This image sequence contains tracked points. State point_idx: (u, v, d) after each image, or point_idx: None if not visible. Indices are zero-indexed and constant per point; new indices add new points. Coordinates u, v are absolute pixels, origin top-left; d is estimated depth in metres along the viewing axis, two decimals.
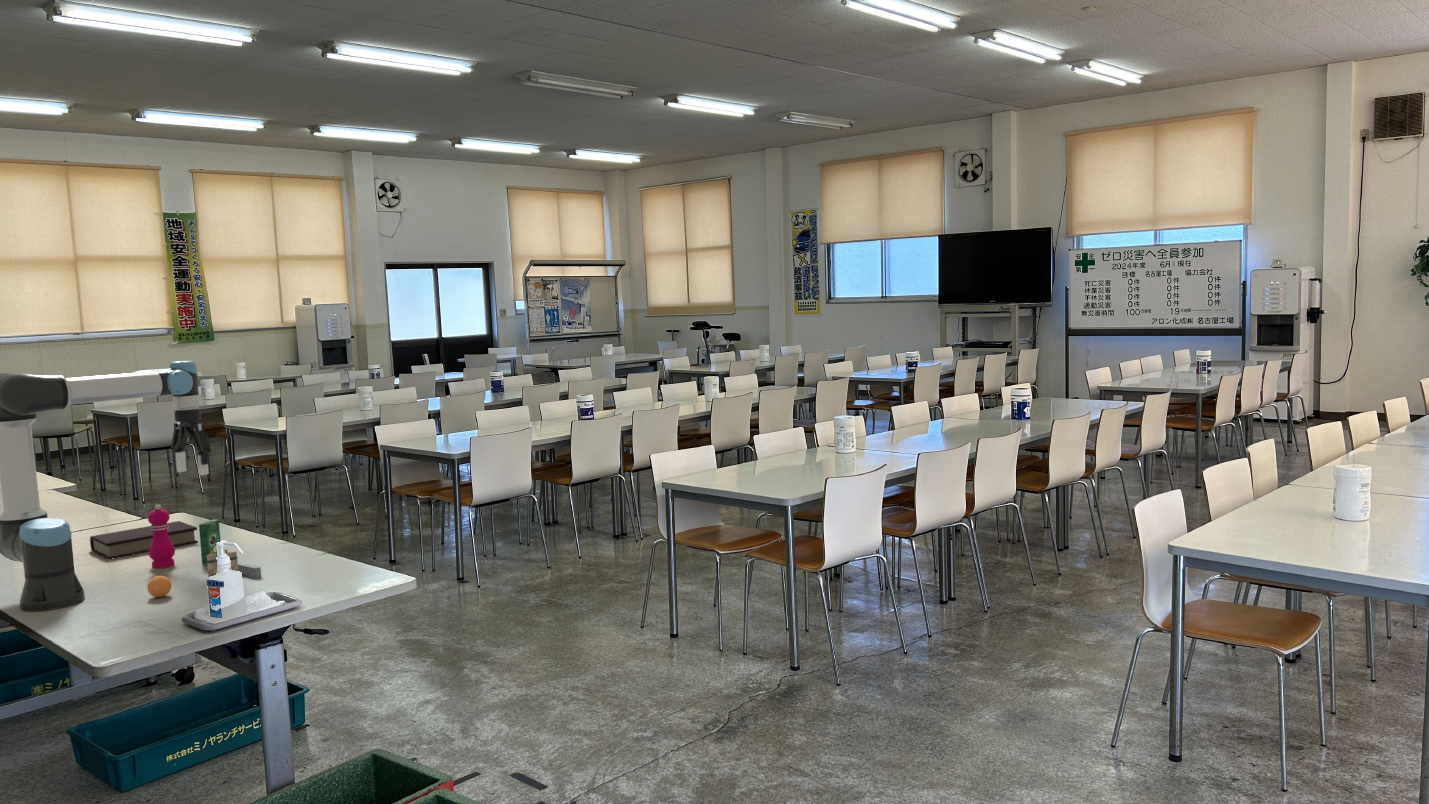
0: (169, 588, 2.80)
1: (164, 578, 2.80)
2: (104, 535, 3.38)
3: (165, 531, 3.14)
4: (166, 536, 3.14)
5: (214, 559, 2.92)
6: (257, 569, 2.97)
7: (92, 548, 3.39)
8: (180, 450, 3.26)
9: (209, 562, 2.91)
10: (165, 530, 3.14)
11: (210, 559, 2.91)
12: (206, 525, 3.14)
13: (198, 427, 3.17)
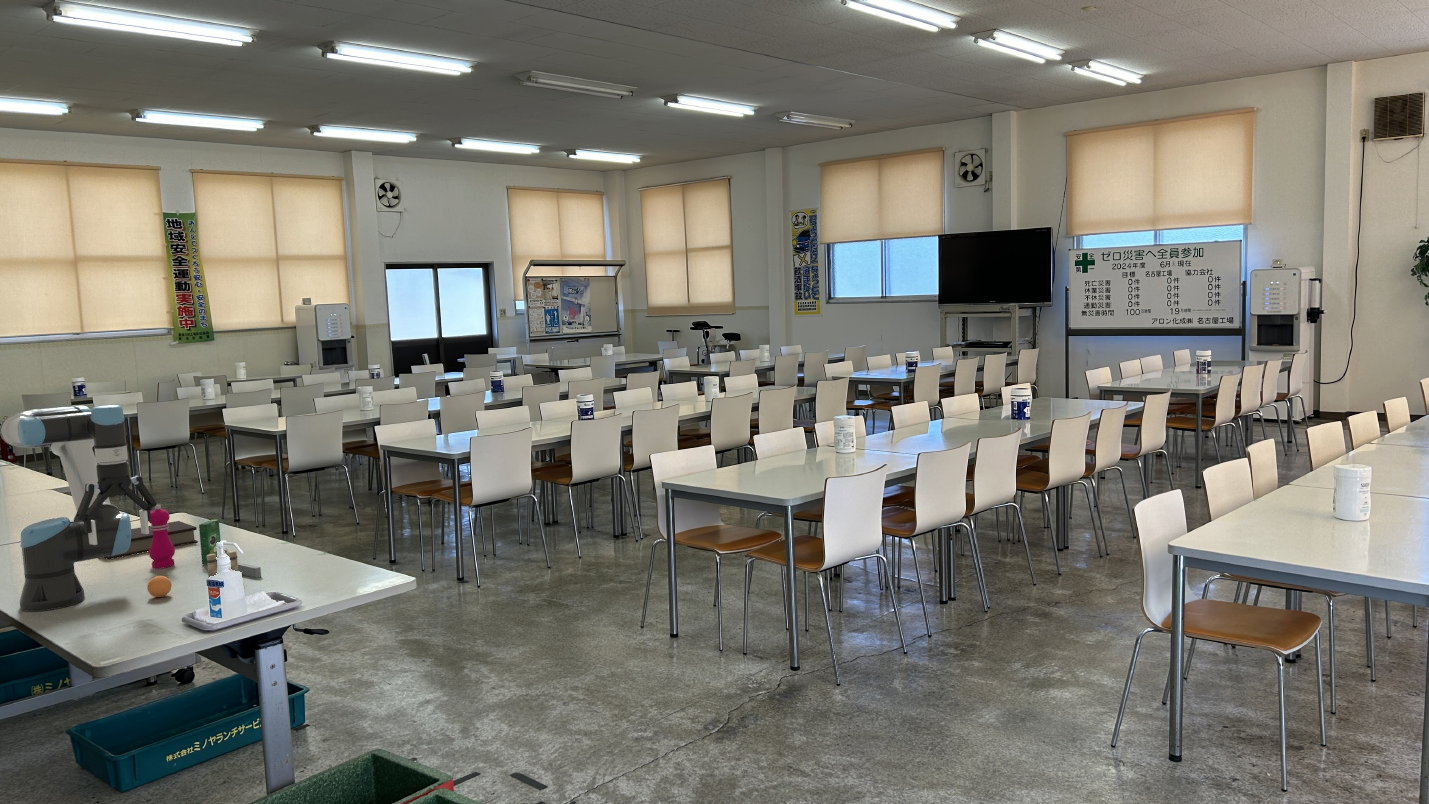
0: (169, 588, 2.80)
1: (164, 578, 2.80)
2: None
3: (165, 531, 3.14)
4: (166, 536, 3.14)
5: (214, 559, 2.92)
6: (257, 569, 2.97)
7: None
8: (144, 508, 2.76)
9: (209, 562, 2.91)
10: (165, 530, 3.14)
11: (210, 559, 2.91)
12: (206, 525, 3.14)
13: (86, 487, 2.64)
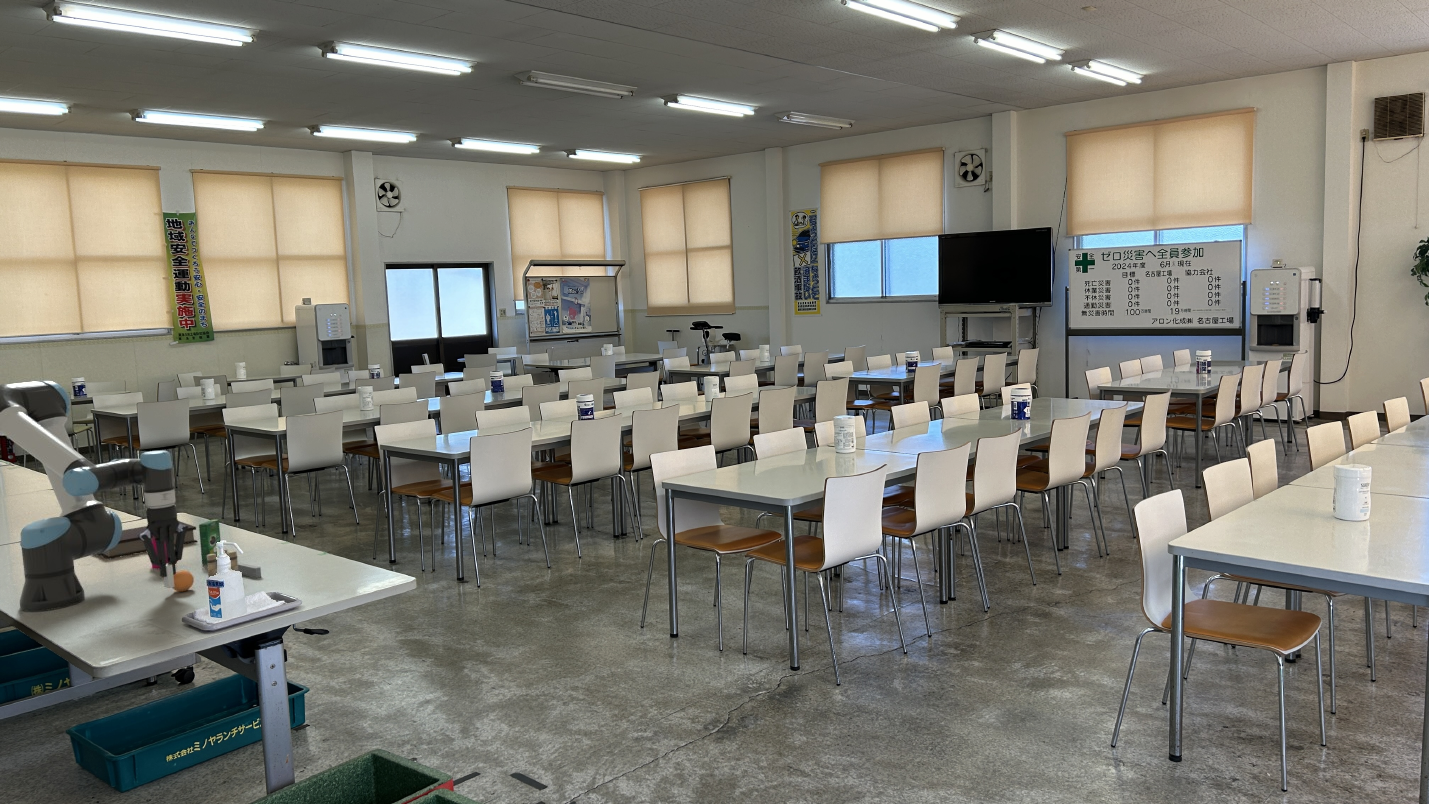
0: (183, 587, 2.83)
1: (192, 583, 2.86)
2: None
3: None
4: None
5: (214, 559, 2.92)
6: (257, 569, 2.97)
7: None
8: (170, 562, 2.82)
9: (209, 562, 2.91)
10: None
11: (210, 559, 2.91)
12: (206, 525, 3.14)
13: (141, 538, 2.76)
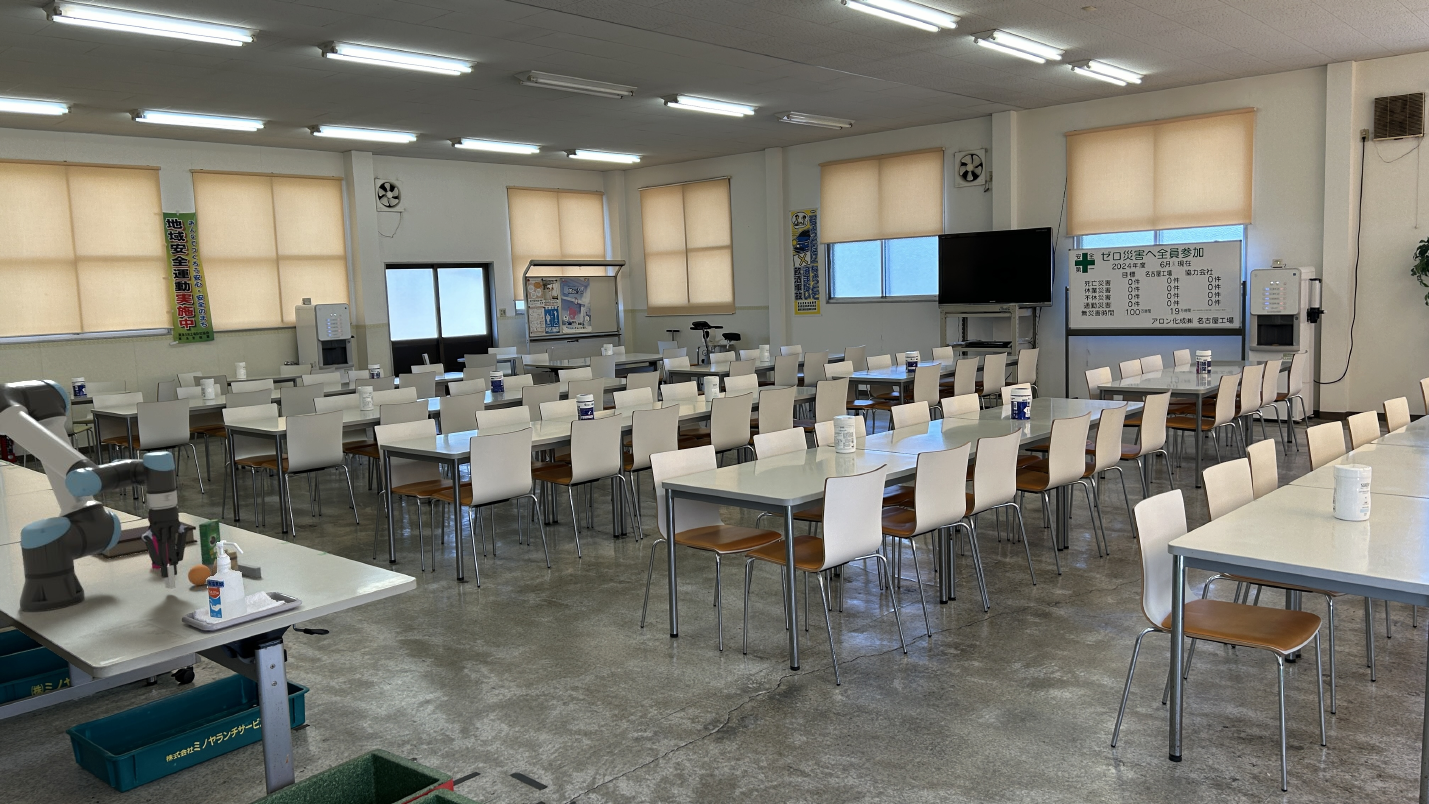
0: (201, 568, 2.90)
1: (200, 579, 2.89)
2: None
3: None
4: None
5: None
6: (257, 569, 2.97)
7: None
8: (171, 563, 2.83)
9: None
10: None
11: None
12: (206, 525, 3.14)
13: (143, 539, 2.77)
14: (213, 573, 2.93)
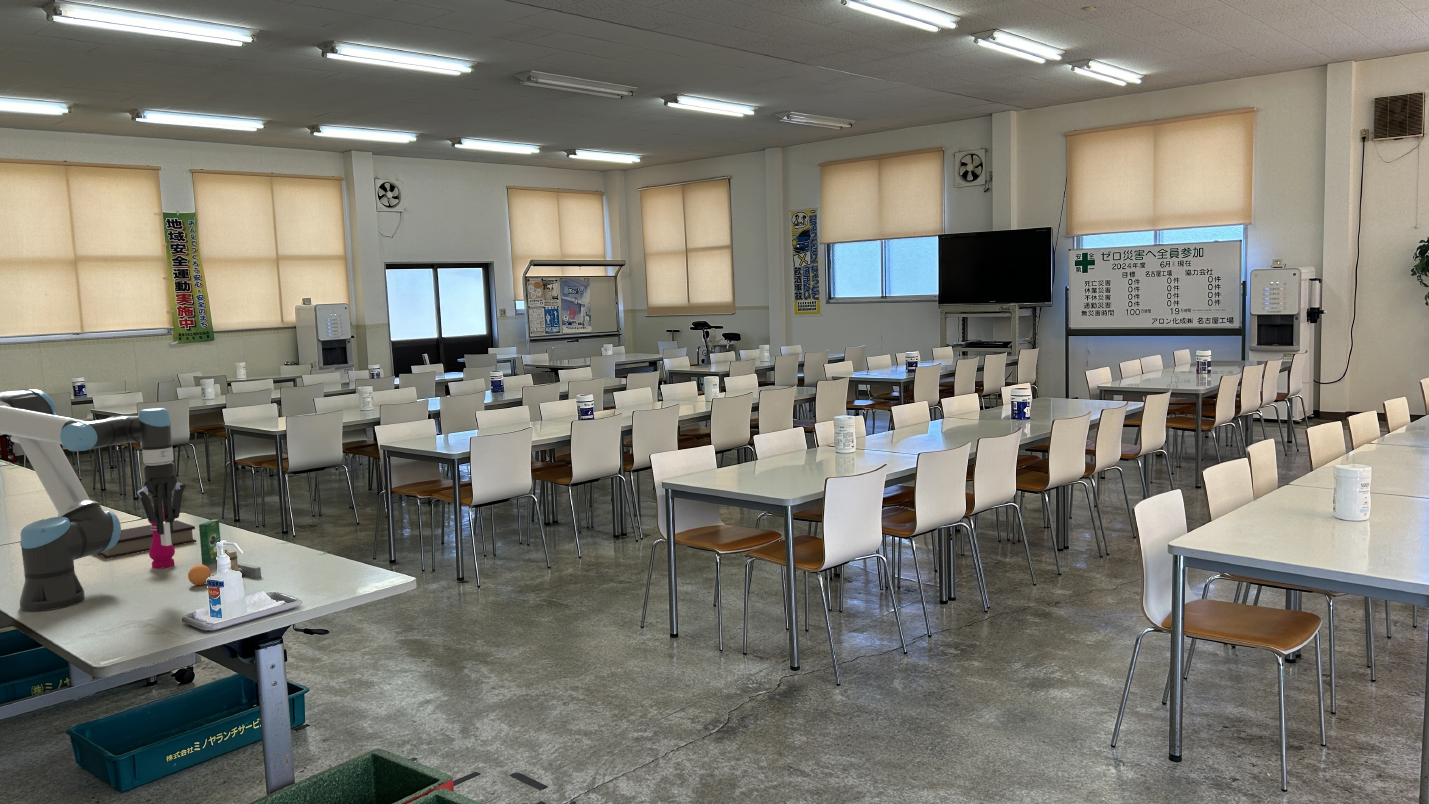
0: (201, 568, 2.90)
1: (200, 579, 2.89)
2: None
3: None
4: None
5: None
6: (257, 569, 2.97)
7: None
8: (167, 520, 2.81)
9: None
10: None
11: (238, 570, 2.98)
12: (206, 525, 3.14)
13: (139, 495, 2.75)
14: None
